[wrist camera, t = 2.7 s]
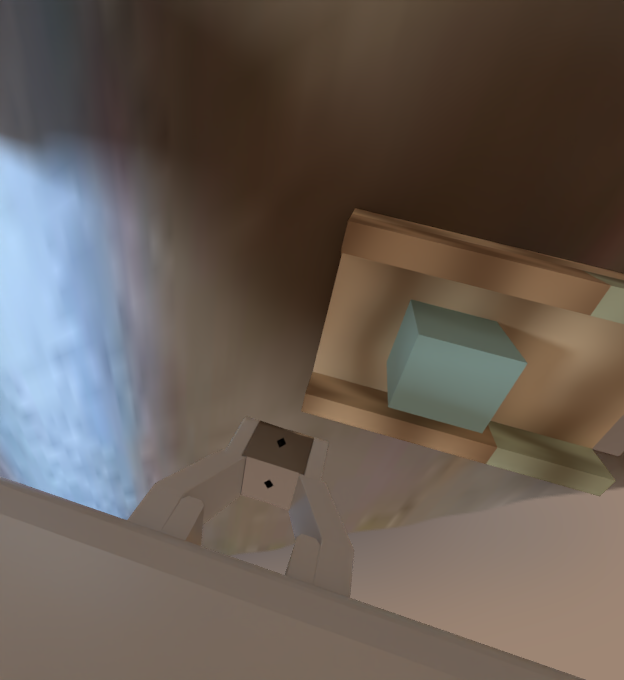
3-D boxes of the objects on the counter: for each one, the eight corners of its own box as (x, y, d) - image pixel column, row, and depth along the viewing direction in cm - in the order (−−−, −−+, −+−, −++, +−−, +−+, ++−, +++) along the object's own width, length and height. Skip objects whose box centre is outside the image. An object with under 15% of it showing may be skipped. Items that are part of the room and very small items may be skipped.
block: (386, 362, 21) (388, 407, 17) (410, 299, 19) (418, 334, 15) (463, 383, 21) (482, 433, 17) (496, 321, 19) (527, 363, 15)
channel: (314, 369, 25) (301, 411, 21) (355, 208, 20) (347, 220, 15) (560, 437, 24) (599, 496, 20) (683, 288, 18) (777, 326, 14)
